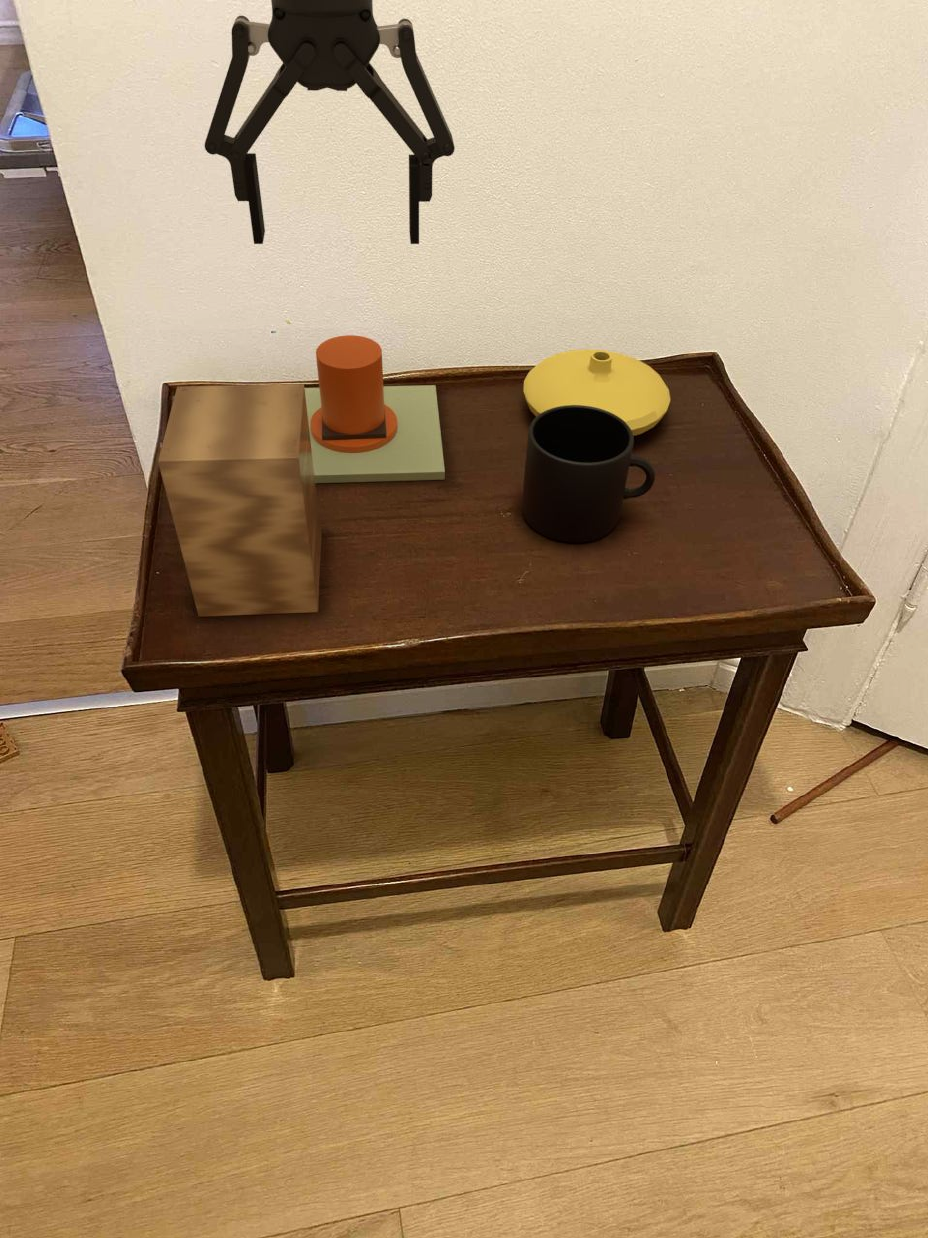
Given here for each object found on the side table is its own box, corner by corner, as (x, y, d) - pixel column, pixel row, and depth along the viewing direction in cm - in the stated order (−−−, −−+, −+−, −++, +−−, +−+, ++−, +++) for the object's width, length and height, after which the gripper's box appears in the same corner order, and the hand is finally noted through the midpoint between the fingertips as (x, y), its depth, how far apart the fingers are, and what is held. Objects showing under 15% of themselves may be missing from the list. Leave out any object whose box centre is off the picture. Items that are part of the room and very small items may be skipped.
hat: (310, 454, 92) (301, 377, 85) (311, 405, 98) (303, 329, 92) (399, 451, 92) (397, 374, 86) (395, 402, 99) (392, 327, 92)
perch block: (198, 617, 77) (157, 461, 65) (211, 539, 84) (177, 386, 72) (318, 612, 78) (298, 457, 66) (321, 535, 85) (304, 383, 73)
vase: (679, 455, 95) (693, 396, 90) (529, 457, 94) (534, 398, 89) (649, 375, 106) (660, 318, 101) (514, 376, 105) (518, 319, 100)
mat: (262, 484, 90) (260, 476, 89) (272, 396, 101) (271, 388, 100) (444, 479, 91) (444, 471, 90) (435, 392, 102) (435, 384, 101)
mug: (647, 551, 84) (665, 471, 78) (518, 539, 85) (525, 459, 78) (644, 489, 91) (661, 411, 84) (524, 478, 91) (531, 400, 85)
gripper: (131, -52, 62) (188, 255, 77) (495, -43, 64) (481, 255, 79) (149, -72, 67) (199, 219, 82) (485, -63, 69) (473, 220, 84)
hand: (337, 237), depth 81 cm, fingers open, 13 cm apart
